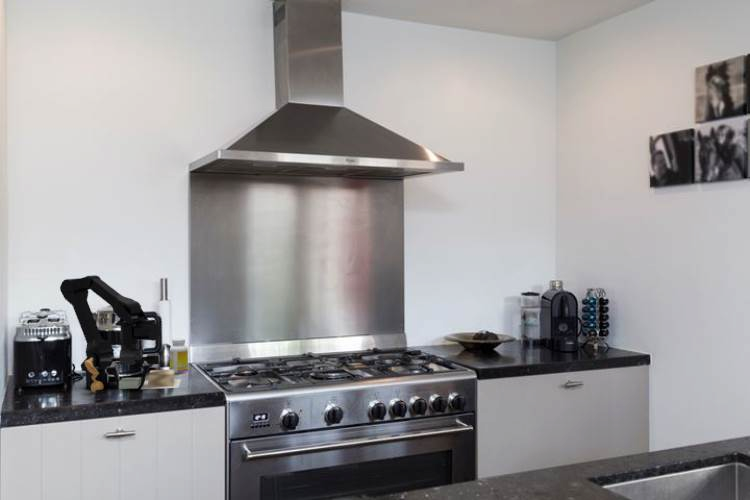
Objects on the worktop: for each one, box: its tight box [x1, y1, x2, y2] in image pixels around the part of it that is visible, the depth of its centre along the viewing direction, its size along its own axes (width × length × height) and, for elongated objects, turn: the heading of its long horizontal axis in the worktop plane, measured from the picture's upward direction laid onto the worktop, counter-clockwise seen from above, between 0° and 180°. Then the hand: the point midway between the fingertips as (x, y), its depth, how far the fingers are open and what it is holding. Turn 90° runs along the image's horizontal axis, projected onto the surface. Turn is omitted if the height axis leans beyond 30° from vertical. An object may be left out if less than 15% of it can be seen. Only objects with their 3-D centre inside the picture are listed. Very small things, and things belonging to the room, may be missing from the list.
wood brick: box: [147, 369, 176, 387], centre depth 245 cm, size 8×8×4 cm
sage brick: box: [118, 377, 142, 390], centre depth 241 cm, size 6×6×4 cm
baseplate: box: [140, 378, 182, 390], centre depth 245 cm, size 12×14×2 cm
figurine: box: [85, 358, 105, 393], centre depth 237 cm, size 8×6×12 cm
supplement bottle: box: [169, 338, 189, 374], centre depth 271 cm, size 7×7×13 cm
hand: (131, 385), depth 241 cm, fingers open, 7 cm apart
